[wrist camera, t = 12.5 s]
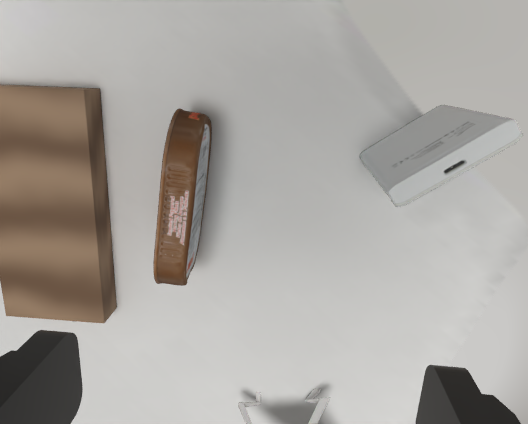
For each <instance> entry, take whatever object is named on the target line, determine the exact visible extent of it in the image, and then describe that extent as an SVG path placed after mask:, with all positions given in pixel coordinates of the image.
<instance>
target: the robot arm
mask: <svg viewBox="0 0 528 424" xmlns="http://www.w3.org/2000/svg"><path fill="white" fill-rule="evenodd" d="M81 398H82V378H81V368H80V358H79V348H78V340H77V337H76V335H75V334H74V333H68V332H57V331H45V330H40V331H38V332H36V333H35V334H34V335H33V336H32V337H31V338H30V339H29V340H28V341H26V342H25V343H24V344H23V345H22V346H21V347H20V348H19V349H18V350H17V351H10V352H8V353H6V354H5V355H3V356H1V357H0V424H70V423H71V422H72V420H73V419H74V417H75V416H76V413H77V411H78V409H79V406H80V403H81ZM416 424H521V423H520V422H519V420H518V419H517V417H516V415H515V414H514V413H513V412H511V411H510V410H509V409H508V408H507V407H506V406H505V405H504V404H502V403H501V402H500V401H499V400H498V399H497V398H496V397H494V396H493V395H485V394H481V392H480V390H479V389H478V387H477V385H476V383H475V382H474V380H473V378H472V376H471V375H470V373H469V372H468V370H466V369H465V368H458V367H447V366H435V365H429V366H428V367H427V369H426V371H425V376H424V381H423V386H422V391H421V397H420V402H419V407H418V412H417V418H416Z"/></svg>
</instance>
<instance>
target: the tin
mask: <svg viewBox="0 0 528 424" xmlns="http://www.w3.org/2000/svg"><path fill="white" fill-rule="evenodd" d="M210 149H211V121H210V119H209V118H208V117H207V116H206V115H205V114H201V113H195V112H188V111H183V110H182V109H177V110H176V112H175V113H174V115H173V117H172V120H171V123H170V125H169V129H168V133H167V138H166V142H165V148H164V154H163V161H162V171H161V182H160V194H159V206H158V218H157V229H156V241H155V250H154V278H155V281H156V283H158V284H160V283H166V284H173V285H186V284H187V279H188V277H189V274H190V272H191V270H192V269H193V267H194V264H195V260H196V255H197V250H198V245H199V239H200V232H201V225H202V217H203V209H204V202H205V195H206V187H207V178H208V169H209V159H210Z"/></svg>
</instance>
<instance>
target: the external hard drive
mask: <svg viewBox="0 0 528 424" xmlns="http://www.w3.org/2000/svg"><path fill="white" fill-rule="evenodd" d="M522 136H523V133H522V131H521V129H520V127H519V125H518V123H517V121H516V120H515V119H511V118H505V117H500V116H496V115H491V114H486V113H482V112H477V111H472V110H467V109H463V108H458V107H452V106H447V105H440V106H438V107H436V108H434V109H432V110H431V111H429V112H427V113H426V114H424V115H422V116H421V117H419V118H417V119H416V120H414V121H412V122H411V123H409V124H407V125H406V126H404V127H403V128H401V129H399V130H398V131H396V132H394V133H393V134H391V135H389V136H388V137H386V138H384V139H383V140H381V141H379V142H378V143H376V144H374V145H373V146H371V147H369V148H368V149H366V150H365V151H363V152H362V153H361V154H360V158H361V160H362V161H363V163H364V165H365V167H366V168H367V169H368V170H369V172H370V173H371V174H372V176H373V177H374V178H375V180H376V181H377V182H378V184H379V185H380V186H381V187H382V189H383V190H384V191H385V193H386V194H387V195H388V196H389V198H390V199H391V201H392V202H393V204H394V205H395V206H396V207H399V206H404V205H407V204H409V203H410V202H412V201H414V200H416V199H417V198H419V197H421V196H423V195H425V194H426V193H428V192H430V191H432V190H434V189H435V188H437V187H439V186H441V185H443V184H444V183H446V182H448V181H450V180H451V179H453V178H455V177H457V176H459V175H460V174H462V173H464V172H466V171H468V170H470V169H471V168H473V167H475V166H477V165H478V164H480V163H482V162H484V161H486V160H487V159H489V158H491V157H493V156H494V155H496V154H498V153H500V152H501V151H503V150H505V149H507V148H508V147H510V146H512V145H514V144H515V143H517V142H518V141H519V140H520V138H521V137H522Z"/></svg>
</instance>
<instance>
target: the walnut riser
mask: <svg viewBox="0 0 528 424" xmlns="http://www.w3.org/2000/svg"><path fill="white" fill-rule="evenodd" d="M0 281H1V287H2V293H3V299H4V305H5V311H6V316H16V317H29V318H42V319H55V320H68V321H81V322H94V323H105V322H106V320H107V319H108V318H109V317H110V315H111V314H112V313H113V312H114V310H115V309H116V308H117V305H116V292H115V279H114V266H113V253H112V240H111V226H110V213H109V200H108V187H107V174H106V161H105V148H104V135H103V122H102V109H101V96H100V89H97V88H72V87H48V86H24V85H0Z"/></svg>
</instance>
